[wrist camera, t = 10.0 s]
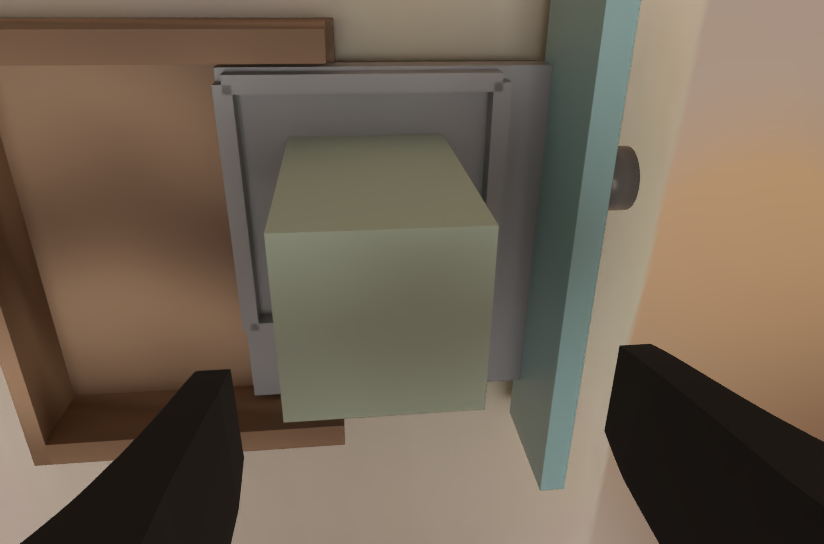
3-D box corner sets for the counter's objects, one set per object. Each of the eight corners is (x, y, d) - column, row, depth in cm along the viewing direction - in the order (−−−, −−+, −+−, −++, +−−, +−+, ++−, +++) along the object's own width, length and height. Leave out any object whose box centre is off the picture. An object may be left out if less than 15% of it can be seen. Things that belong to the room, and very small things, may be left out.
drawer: (560, 408, 24) (598, 485, 21) (262, 428, 23) (250, 513, 20) (621, -18, 18) (694, -12, 14) (208, -21, 17) (174, -15, 13)
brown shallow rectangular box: (349, 387, 24) (350, 444, 21) (70, 404, 23) (34, 465, 20) (332, 17, 18) (332, 29, 15) (-41, 17, 17) (-114, 29, 14)
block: (438, 270, 20) (484, 409, 14) (299, 275, 20) (283, 422, 14) (442, 133, 18) (498, 225, 12) (288, 136, 18) (263, 233, 12)
